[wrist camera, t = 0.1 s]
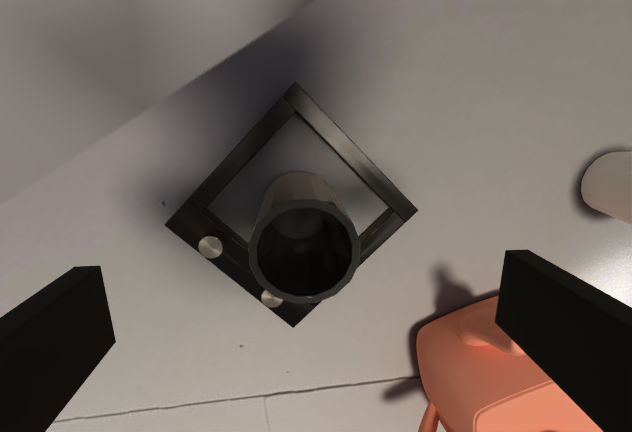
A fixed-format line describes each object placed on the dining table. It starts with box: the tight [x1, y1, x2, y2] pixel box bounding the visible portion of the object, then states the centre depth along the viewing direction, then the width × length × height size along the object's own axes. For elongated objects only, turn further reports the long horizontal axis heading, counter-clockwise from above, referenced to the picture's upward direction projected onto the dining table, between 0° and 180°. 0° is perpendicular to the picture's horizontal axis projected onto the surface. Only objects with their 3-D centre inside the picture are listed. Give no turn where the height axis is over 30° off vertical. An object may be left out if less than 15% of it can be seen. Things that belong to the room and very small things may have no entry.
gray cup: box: [248, 171, 360, 304], centre depth 25 cm, size 7×7×11 cm
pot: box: [416, 296, 603, 432], centre depth 31 cm, size 18×17×12 cm
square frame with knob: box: [165, 82, 418, 328], centre depth 30 cm, size 16×15×2 cm
